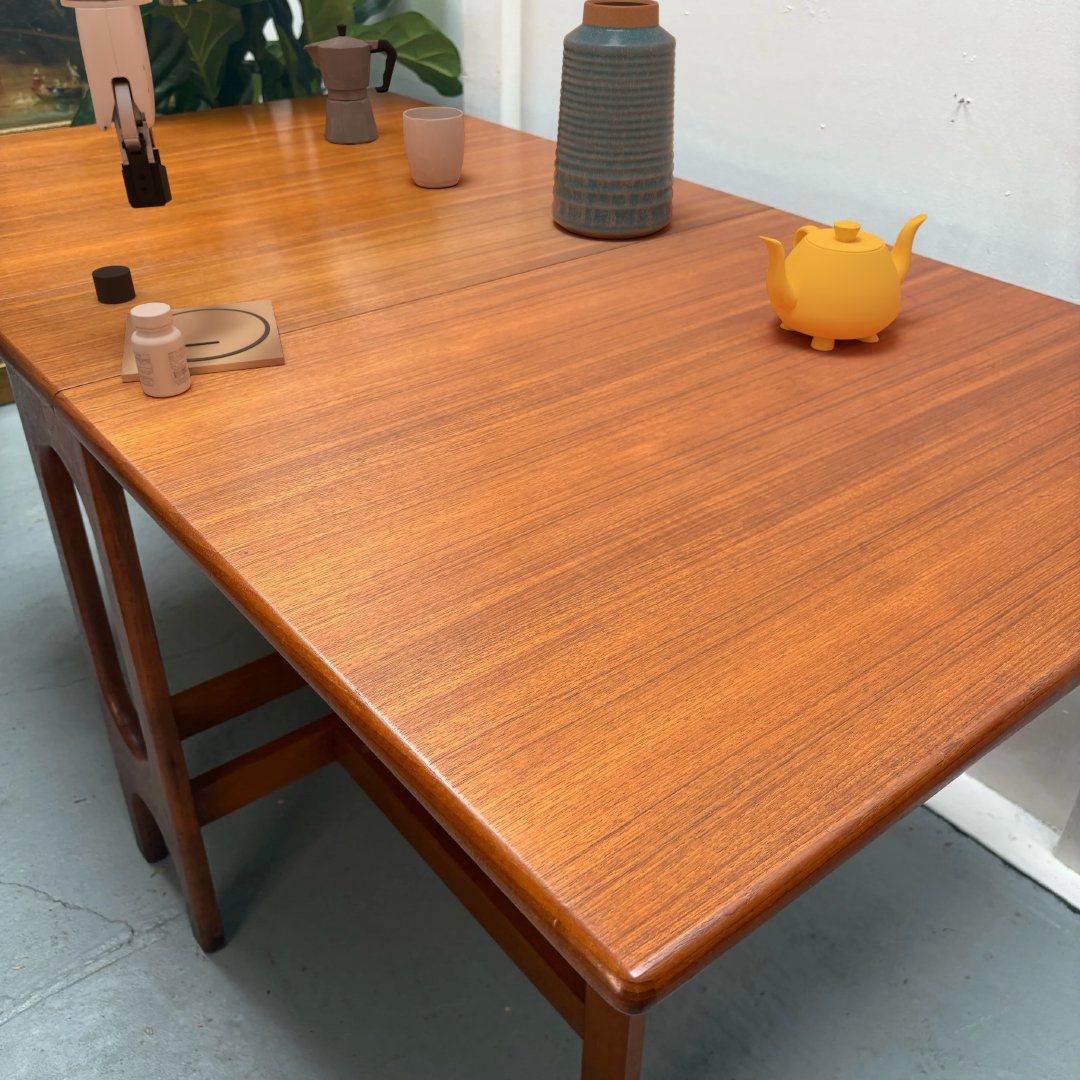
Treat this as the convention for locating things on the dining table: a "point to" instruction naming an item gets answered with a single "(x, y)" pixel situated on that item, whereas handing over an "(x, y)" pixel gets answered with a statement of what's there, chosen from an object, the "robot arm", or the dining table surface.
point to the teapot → (839, 281)
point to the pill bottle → (159, 351)
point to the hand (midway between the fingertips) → (149, 197)
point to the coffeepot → (350, 84)
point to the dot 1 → (113, 284)
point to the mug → (434, 145)
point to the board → (219, 338)
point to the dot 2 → (164, 181)
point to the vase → (616, 123)
